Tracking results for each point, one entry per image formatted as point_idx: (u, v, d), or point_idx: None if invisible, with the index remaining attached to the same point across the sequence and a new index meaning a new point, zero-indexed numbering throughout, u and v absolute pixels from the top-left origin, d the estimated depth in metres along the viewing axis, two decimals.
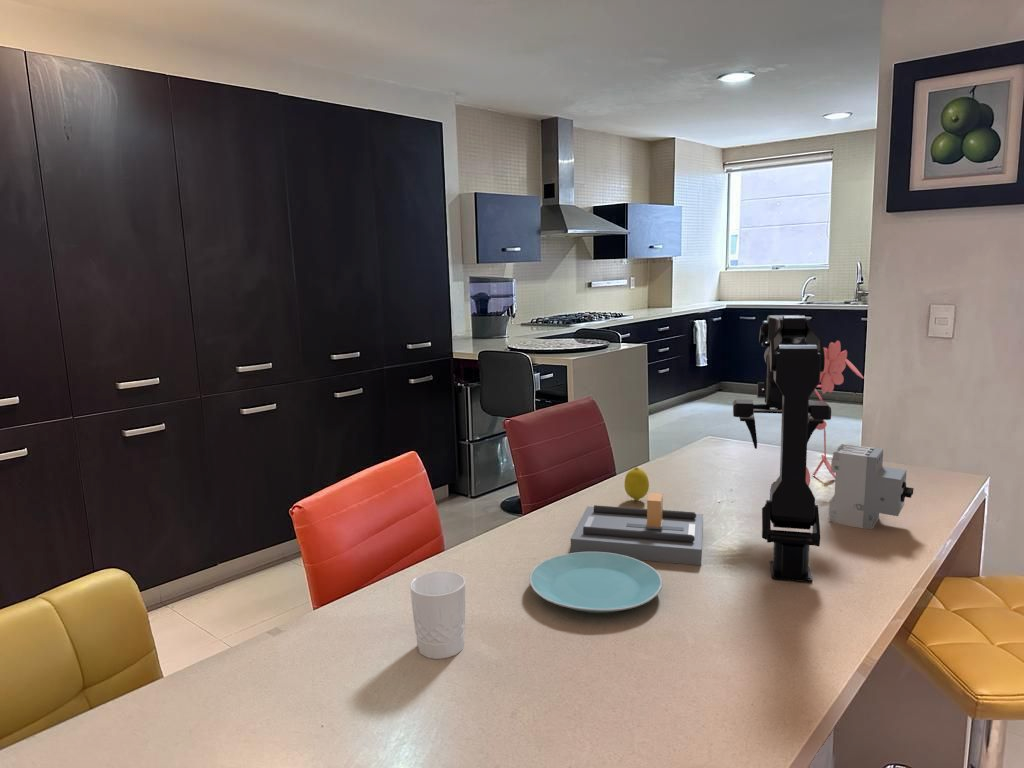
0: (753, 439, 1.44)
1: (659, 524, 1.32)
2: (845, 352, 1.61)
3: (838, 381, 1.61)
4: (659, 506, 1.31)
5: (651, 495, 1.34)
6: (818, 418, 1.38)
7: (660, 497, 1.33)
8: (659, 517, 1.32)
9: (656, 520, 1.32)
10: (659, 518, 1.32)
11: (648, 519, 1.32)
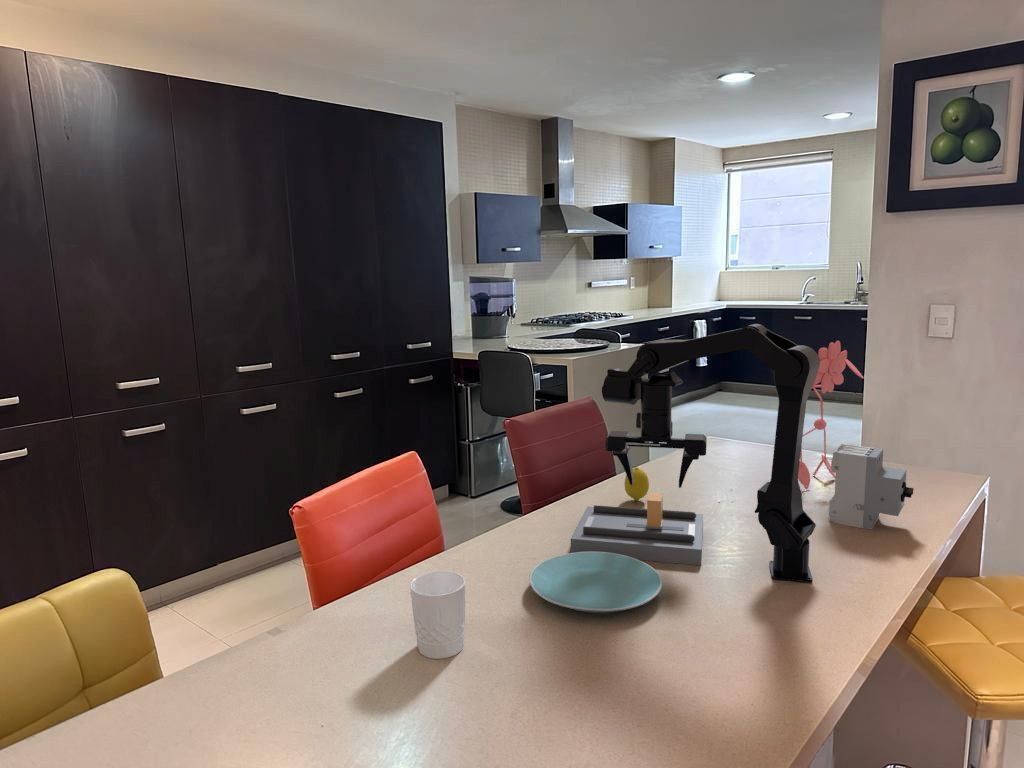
0: (627, 475, 1.33)
1: (659, 524, 1.32)
2: (845, 352, 1.61)
3: (838, 381, 1.61)
4: (659, 506, 1.31)
5: (651, 495, 1.34)
6: (692, 454, 1.27)
7: (660, 497, 1.33)
8: (659, 517, 1.32)
9: (656, 520, 1.32)
10: (659, 518, 1.32)
11: (648, 519, 1.32)
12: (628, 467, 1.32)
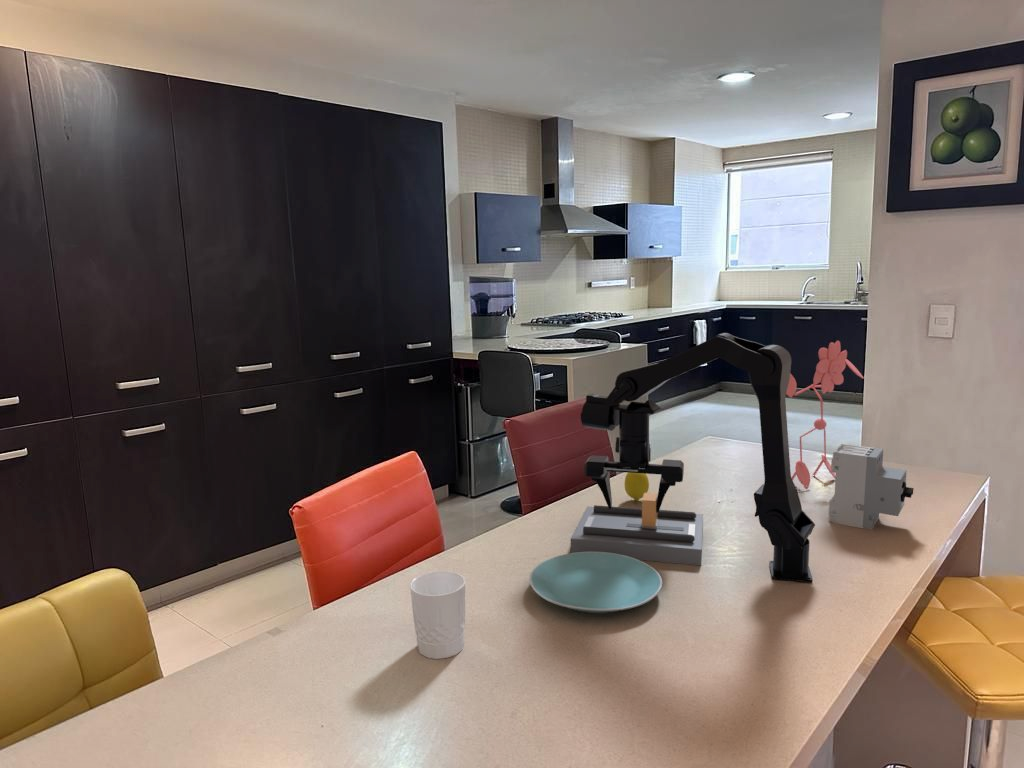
0: (606, 499, 1.35)
1: (654, 524, 1.32)
2: (845, 352, 1.61)
3: (838, 381, 1.61)
4: (654, 506, 1.32)
5: (646, 495, 1.35)
6: (669, 480, 1.29)
7: (655, 497, 1.33)
8: (654, 517, 1.32)
9: (651, 520, 1.32)
10: (654, 518, 1.32)
11: (643, 519, 1.33)
12: (606, 492, 1.34)
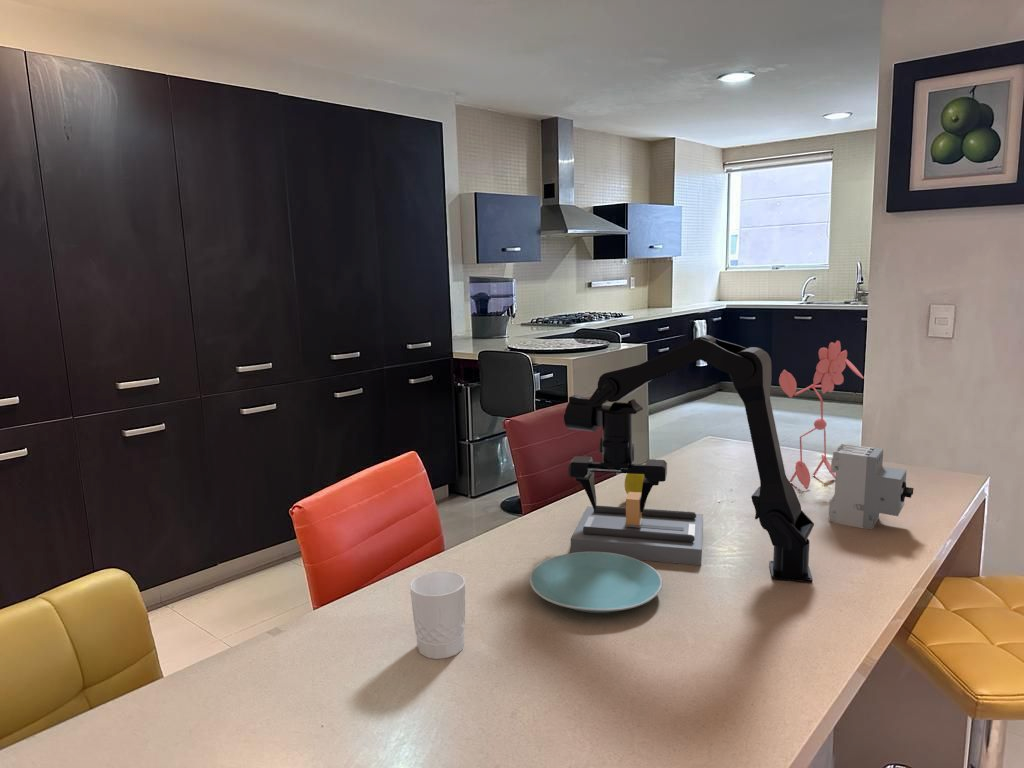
0: (590, 499, 1.36)
1: (638, 522, 1.33)
2: (845, 352, 1.61)
3: (838, 381, 1.61)
4: (638, 505, 1.33)
5: (630, 494, 1.36)
6: (652, 479, 1.30)
7: (639, 496, 1.34)
8: (638, 515, 1.33)
9: (635, 518, 1.33)
10: (638, 516, 1.33)
11: (627, 517, 1.34)
12: (591, 492, 1.35)
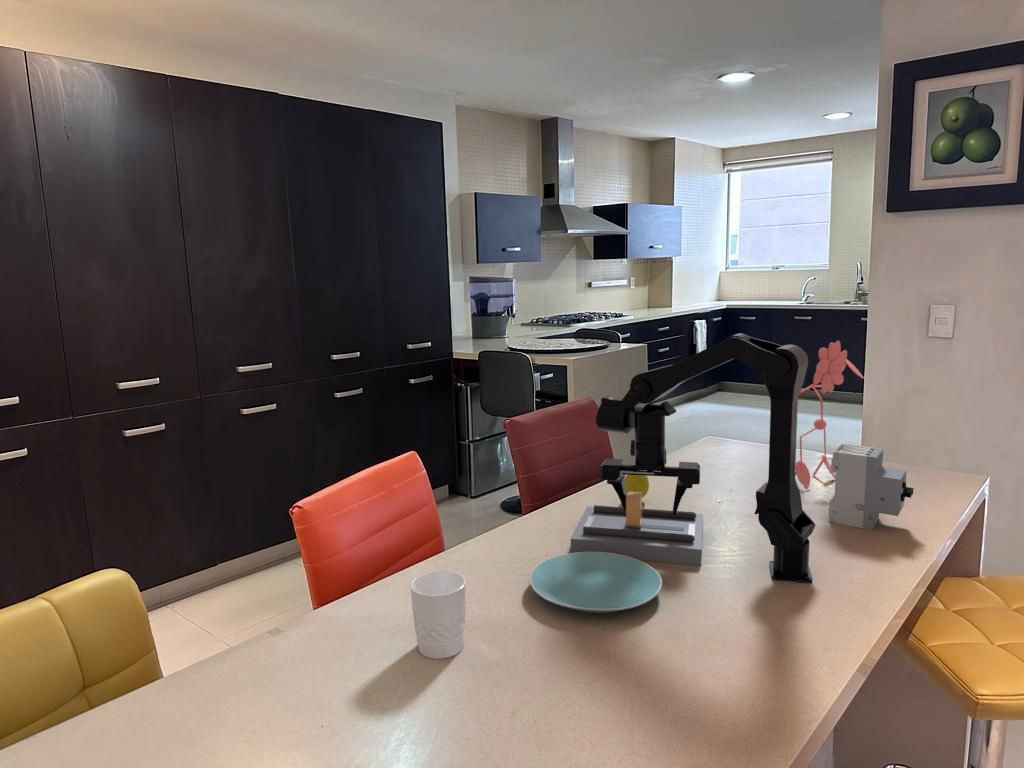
0: (622, 503, 1.34)
1: (638, 522, 1.33)
2: (845, 352, 1.61)
3: (838, 381, 1.61)
4: (638, 505, 1.33)
5: (630, 494, 1.36)
6: (686, 482, 1.28)
7: (639, 496, 1.34)
8: (638, 515, 1.33)
9: (635, 518, 1.33)
10: (638, 516, 1.33)
11: (627, 517, 1.34)
12: (623, 495, 1.33)
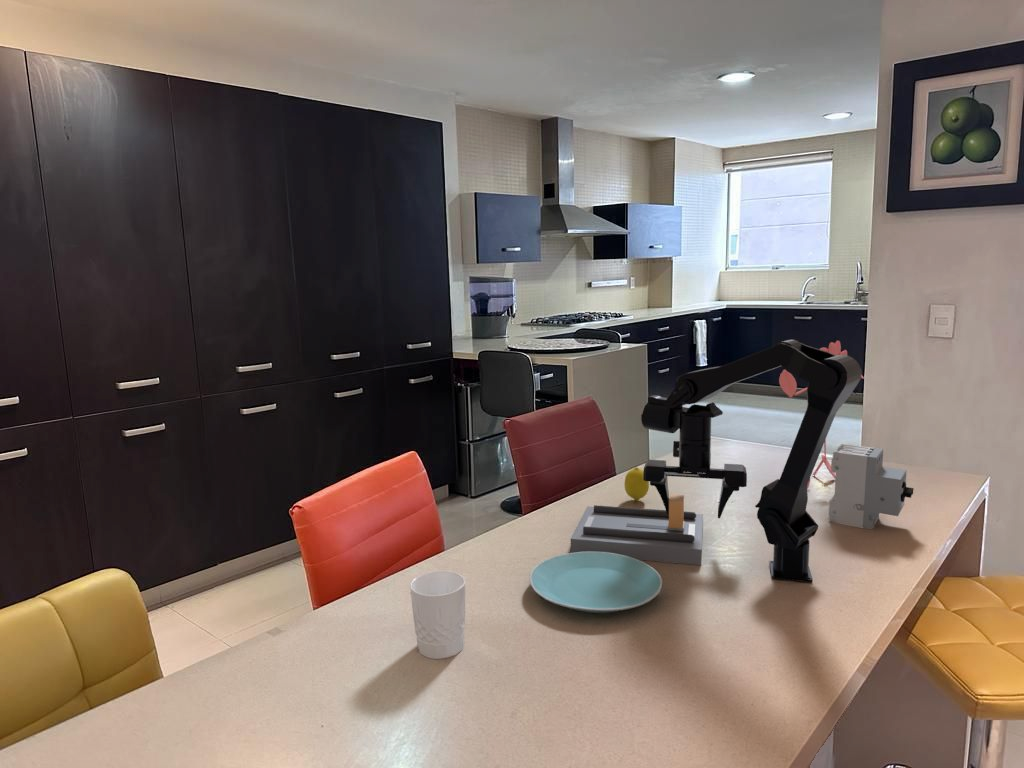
0: (665, 505, 1.32)
1: (681, 526, 1.31)
2: (845, 352, 1.61)
3: None
4: (681, 507, 1.30)
5: (672, 496, 1.33)
6: (732, 485, 1.26)
7: (682, 498, 1.32)
8: (681, 519, 1.31)
9: (678, 522, 1.31)
10: (681, 520, 1.31)
11: (670, 521, 1.31)
12: (666, 497, 1.31)
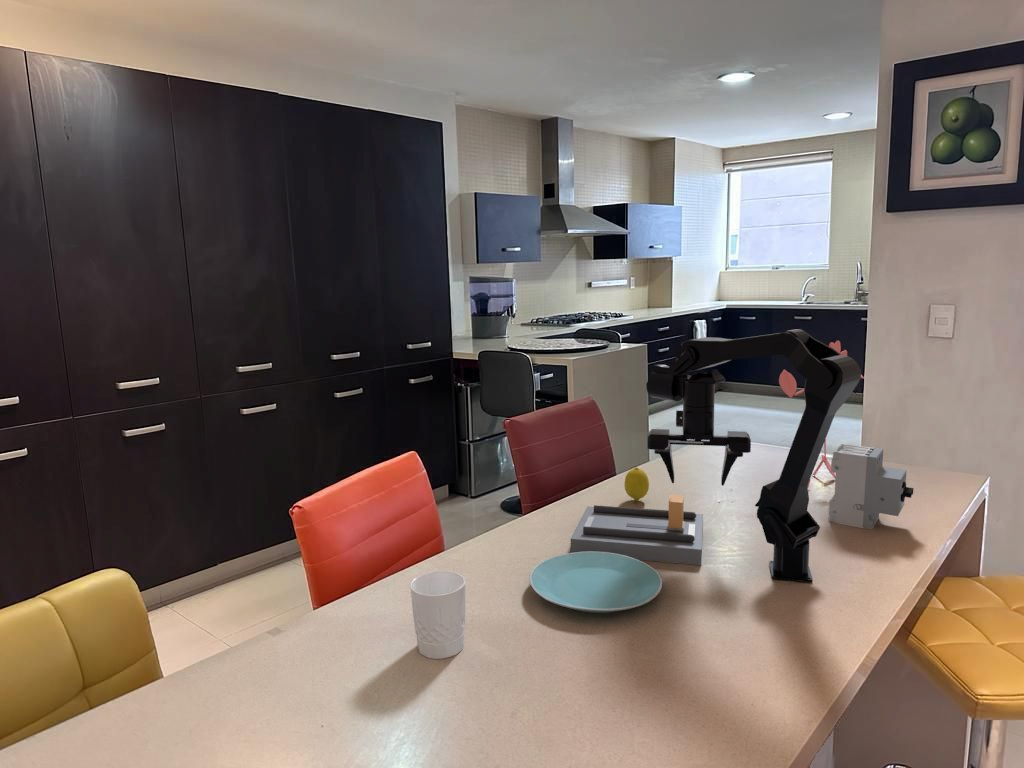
0: (669, 473, 1.32)
1: (681, 526, 1.31)
2: (845, 352, 1.61)
3: None
4: (681, 507, 1.30)
5: (672, 496, 1.33)
6: (737, 451, 1.26)
7: (681, 498, 1.32)
8: (681, 519, 1.31)
9: (678, 522, 1.31)
10: (681, 520, 1.31)
11: (669, 521, 1.31)
12: (670, 465, 1.31)
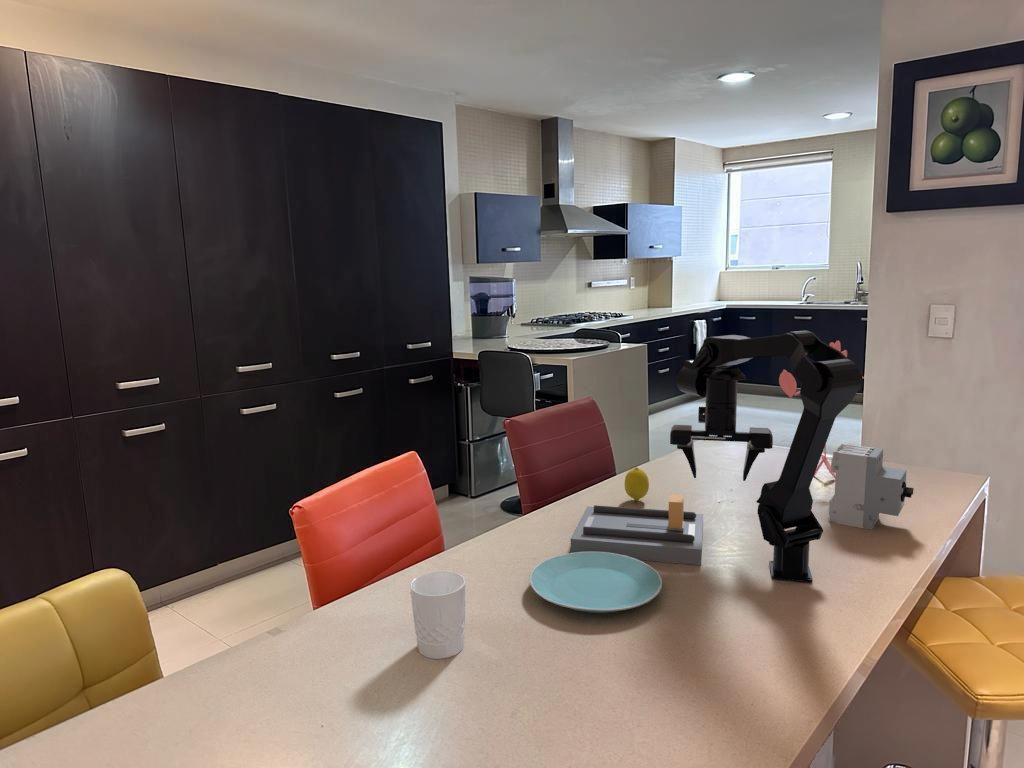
0: (692, 468, 1.34)
1: (681, 526, 1.31)
2: (845, 352, 1.61)
3: None
4: (681, 507, 1.30)
5: (672, 496, 1.33)
6: (759, 447, 1.28)
7: (681, 498, 1.32)
8: (681, 519, 1.31)
9: (678, 522, 1.31)
10: (681, 520, 1.31)
11: (669, 521, 1.31)
12: (693, 460, 1.33)
